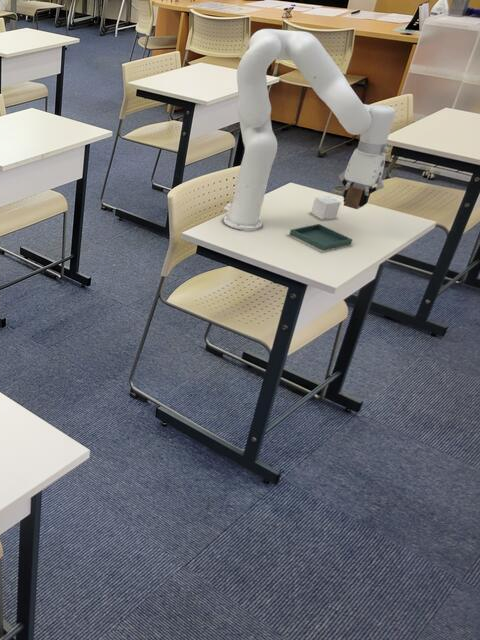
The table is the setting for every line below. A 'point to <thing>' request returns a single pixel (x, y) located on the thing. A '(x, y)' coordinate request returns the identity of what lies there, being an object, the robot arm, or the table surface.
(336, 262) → the table surface
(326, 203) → the white cube
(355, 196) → the block
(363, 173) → the robot arm
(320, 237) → the tray
